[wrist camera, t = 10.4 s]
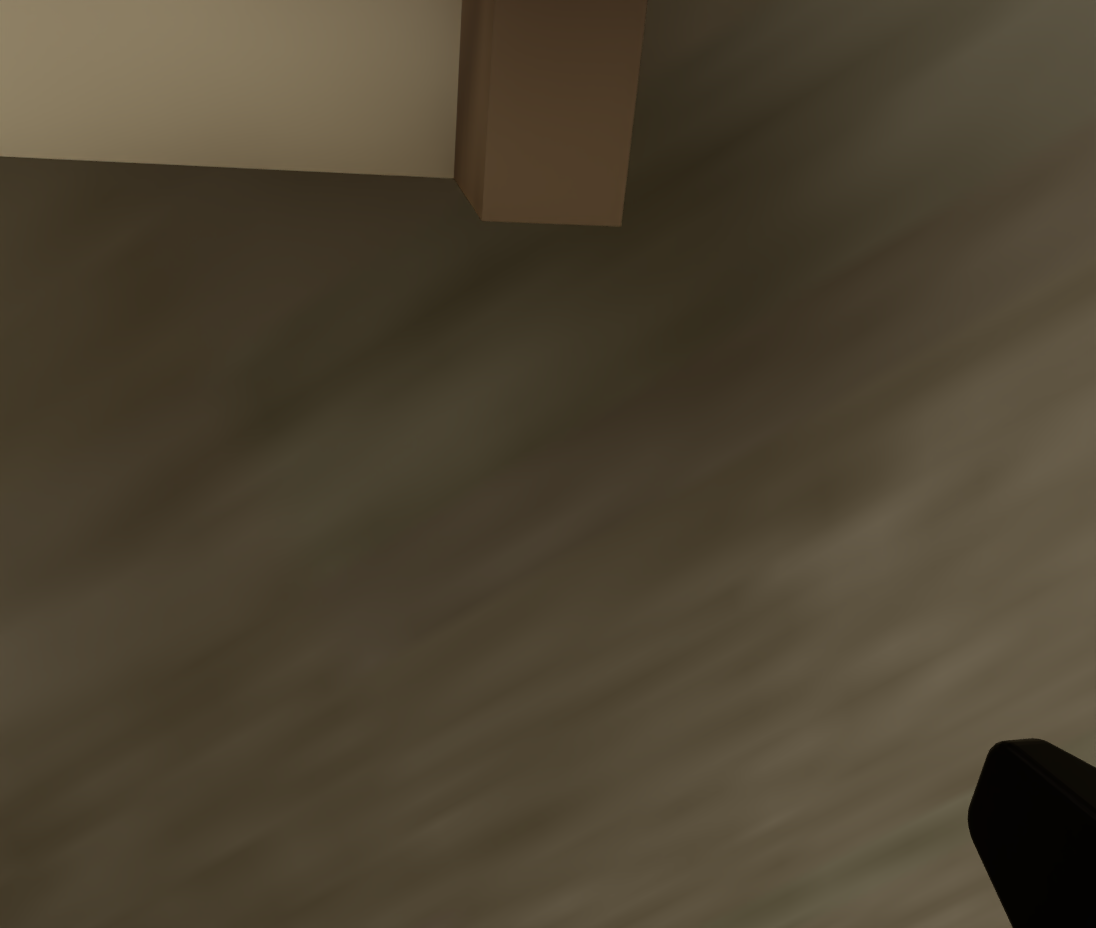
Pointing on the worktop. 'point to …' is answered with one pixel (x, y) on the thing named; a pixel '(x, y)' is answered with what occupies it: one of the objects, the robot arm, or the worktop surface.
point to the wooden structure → (339, 91)
